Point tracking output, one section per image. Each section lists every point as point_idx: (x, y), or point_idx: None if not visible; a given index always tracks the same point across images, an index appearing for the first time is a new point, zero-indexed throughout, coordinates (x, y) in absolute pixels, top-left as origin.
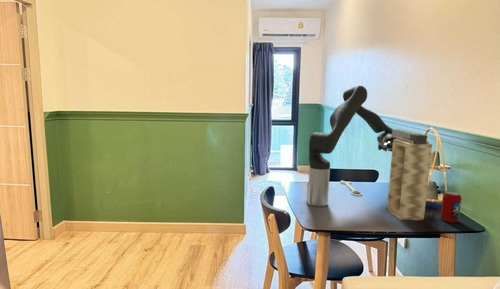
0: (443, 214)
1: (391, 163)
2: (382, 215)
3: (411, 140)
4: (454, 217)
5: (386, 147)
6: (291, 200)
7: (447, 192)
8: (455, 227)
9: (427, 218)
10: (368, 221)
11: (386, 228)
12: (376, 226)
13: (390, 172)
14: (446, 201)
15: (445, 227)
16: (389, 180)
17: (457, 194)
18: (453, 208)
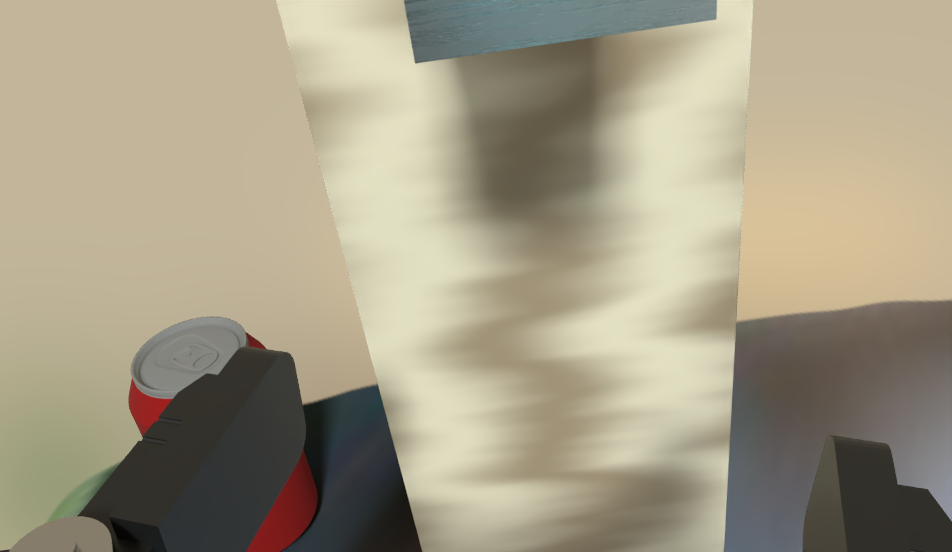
0: (308, 466)
1: (732, 286)
2: (781, 537)
3: None
4: None
5: (836, 437)
6: None
7: (221, 363)
8: (316, 416)
9: (410, 532)
10: (900, 410)
11: (776, 338)
12: (841, 351)
13: (728, 401)
14: None
15: (382, 406)
16: (726, 491)
17: (180, 333)
18: None
